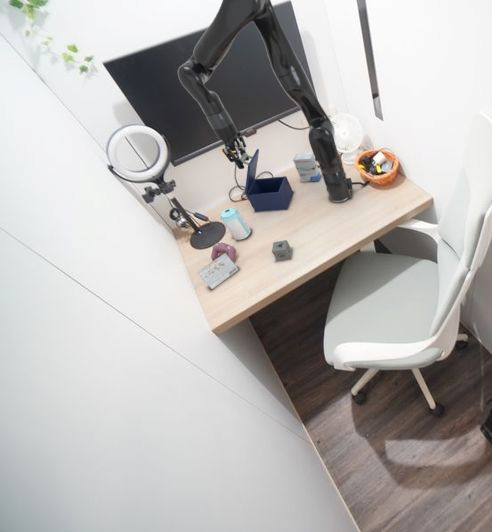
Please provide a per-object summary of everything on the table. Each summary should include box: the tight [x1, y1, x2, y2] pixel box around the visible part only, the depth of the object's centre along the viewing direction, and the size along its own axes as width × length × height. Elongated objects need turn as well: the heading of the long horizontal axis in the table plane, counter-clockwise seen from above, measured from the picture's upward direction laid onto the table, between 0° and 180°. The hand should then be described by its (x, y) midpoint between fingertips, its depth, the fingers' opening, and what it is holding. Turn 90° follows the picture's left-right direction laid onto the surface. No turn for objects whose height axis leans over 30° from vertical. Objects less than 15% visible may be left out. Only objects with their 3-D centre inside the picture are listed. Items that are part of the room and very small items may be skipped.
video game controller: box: [210, 242, 237, 263], centre depth 122 cm, size 10×5×7 cm, turn 71°
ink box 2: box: [292, 153, 321, 183], centre depth 149 cm, size 8×5×12 cm, turn 84°
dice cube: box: [271, 239, 292, 262], centre depth 119 cm, size 5×5×5 cm
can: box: [220, 207, 251, 241], centre depth 127 cm, size 7×7×12 cm
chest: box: [245, 175, 294, 213], centre depth 141 cm, size 15×12×9 cm
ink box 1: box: [196, 252, 239, 290], centre depth 113 cm, size 2×11×10 cm, turn 140°
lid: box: [239, 148, 260, 196], centre depth 132 cm, size 15×12×5 cm
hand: (244, 164), depth 129 cm, fingers closed on lid, 5 cm apart
